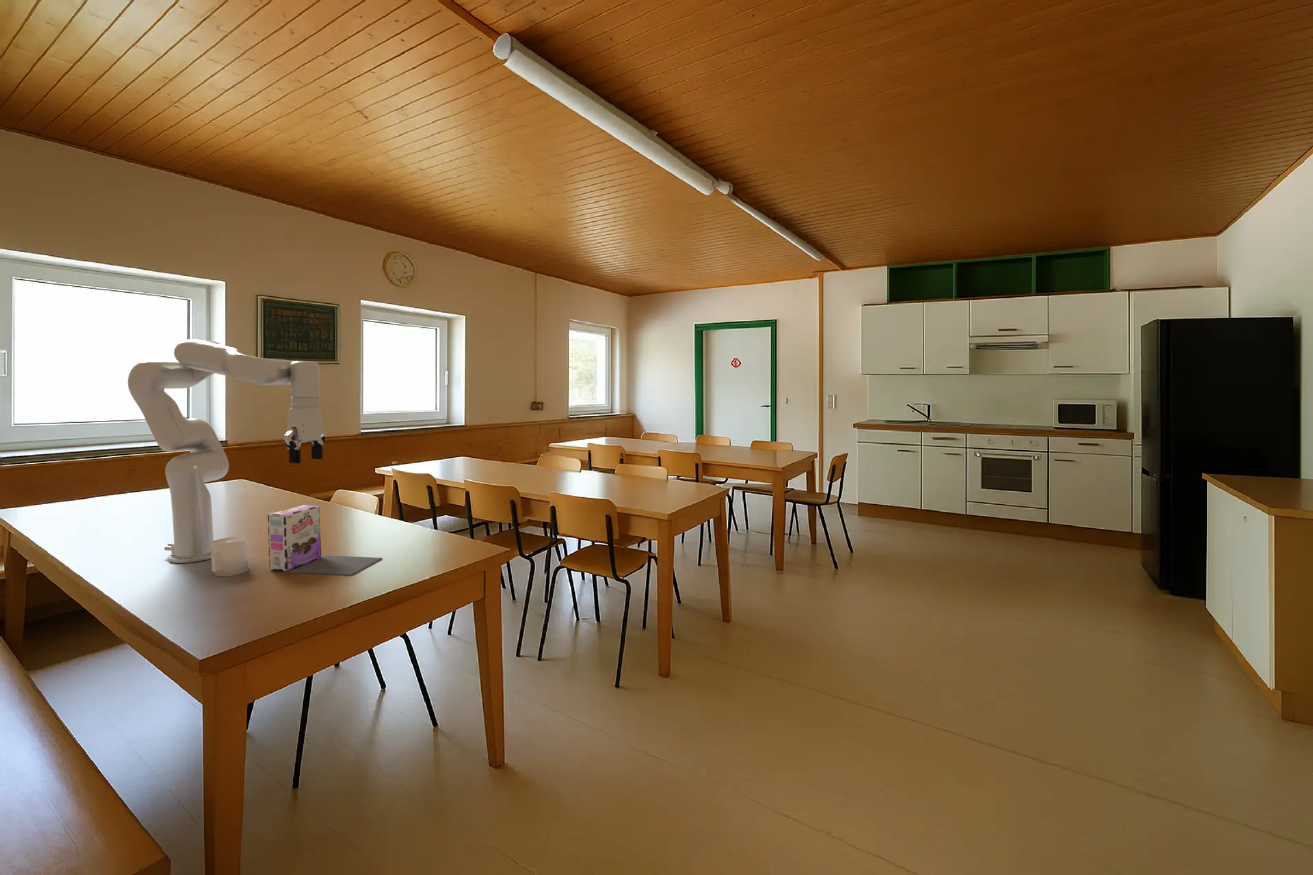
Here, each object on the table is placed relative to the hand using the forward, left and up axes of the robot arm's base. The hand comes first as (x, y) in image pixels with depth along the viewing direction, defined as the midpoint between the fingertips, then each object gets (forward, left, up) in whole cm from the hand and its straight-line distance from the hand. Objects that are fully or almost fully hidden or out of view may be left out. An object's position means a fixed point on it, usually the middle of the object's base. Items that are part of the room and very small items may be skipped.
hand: (306, 460), depth 181 cm
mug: (-14, -13, -30) cm, 36 cm away
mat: (+12, -4, -30) cm, 33 cm away
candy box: (-1, -4, -30) cm, 31 cm away
